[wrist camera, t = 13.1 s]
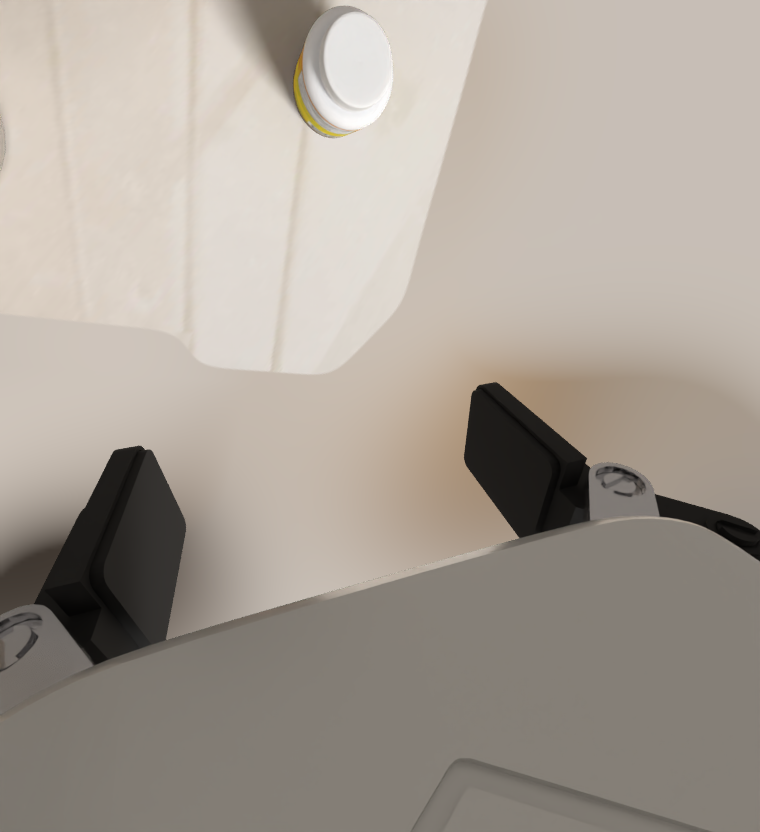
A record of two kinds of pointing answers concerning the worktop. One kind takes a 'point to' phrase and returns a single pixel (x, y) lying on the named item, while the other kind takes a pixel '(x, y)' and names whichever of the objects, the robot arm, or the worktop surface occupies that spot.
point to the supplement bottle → (343, 73)
